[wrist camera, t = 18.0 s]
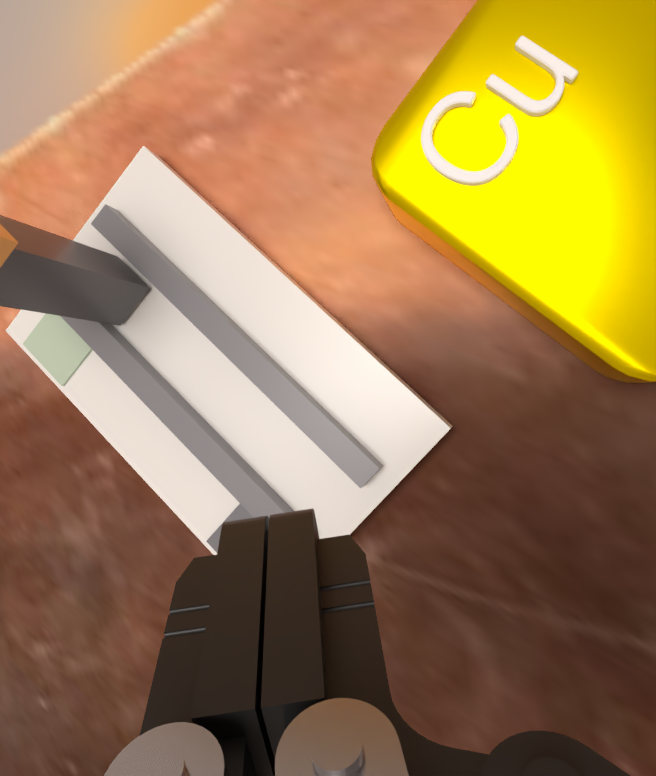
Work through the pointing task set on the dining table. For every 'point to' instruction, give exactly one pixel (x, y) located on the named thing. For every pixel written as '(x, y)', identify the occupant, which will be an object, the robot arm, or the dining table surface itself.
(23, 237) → the lever
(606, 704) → the dining table surface
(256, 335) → the switch panel
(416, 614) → the dining table surface
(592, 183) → the element tile
